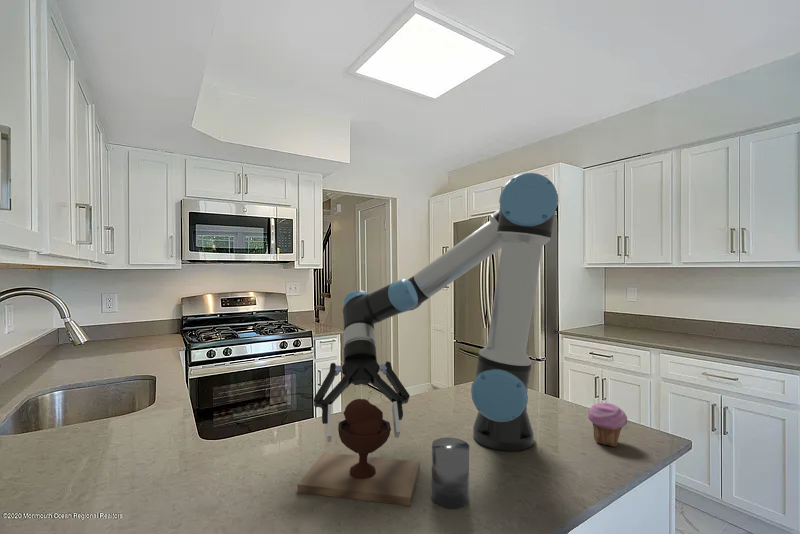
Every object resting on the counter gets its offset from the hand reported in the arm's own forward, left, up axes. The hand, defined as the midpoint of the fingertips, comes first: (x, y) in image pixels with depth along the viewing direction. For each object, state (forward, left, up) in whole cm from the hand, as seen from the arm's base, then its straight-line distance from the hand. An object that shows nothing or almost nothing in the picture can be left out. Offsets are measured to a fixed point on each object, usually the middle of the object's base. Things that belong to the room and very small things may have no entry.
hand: (363, 437), depth 80 cm
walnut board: (+1, -2, -10) cm, 10 cm away
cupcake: (-55, -32, -10) cm, 65 cm away
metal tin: (-17, +1, -10) cm, 20 cm away
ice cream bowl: (+1, -2, -8) cm, 9 cm away
